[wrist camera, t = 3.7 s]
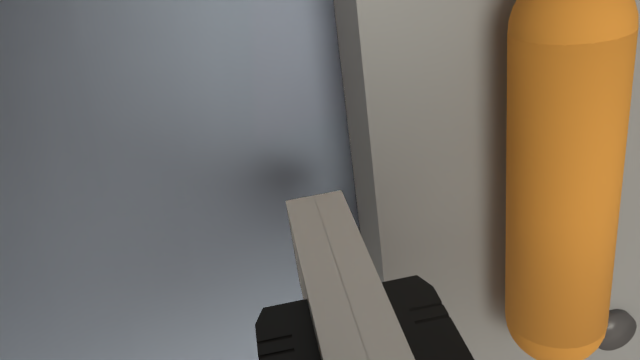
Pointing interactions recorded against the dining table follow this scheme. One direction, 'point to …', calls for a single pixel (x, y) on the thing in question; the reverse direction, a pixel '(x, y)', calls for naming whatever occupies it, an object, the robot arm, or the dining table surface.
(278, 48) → the dining table surface
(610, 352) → the hinged lid box
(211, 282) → the dining table surface
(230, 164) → the dining table surface
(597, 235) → the capsule
